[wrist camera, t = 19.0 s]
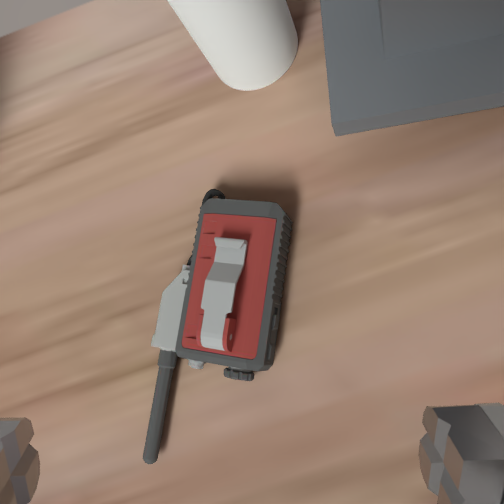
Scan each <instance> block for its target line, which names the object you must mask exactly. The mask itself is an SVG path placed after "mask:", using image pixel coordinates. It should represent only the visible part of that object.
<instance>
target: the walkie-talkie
mask: <svg viewBox="0 0 504 504" xmlns="http://www.w3.org/2000/svg"><path fill="white" fill-rule="evenodd" d="M213 196H218V197H219V199H214V198H213ZM200 209H201V210H200V214H199V221H198V222H197V223H198V227H197V228H196V231H197V233H196V236H195V243H194V250H193V251H192V253H193V254H192V256H191V257H190V258H189V260H188V263H187V265H183V267H182V272H181V273H180V274H179V275H178V276H177V277H176V278H175V279H174V280H173V282H172V283H171V284H170V285H169V286H168V287H167V288H166V289H165V290H164V291H163V293H162V299H161V304H160V310H159V315H158V320H157V326H156V331H155V334H154V335H153V337H152V342H151V346H154V347H160V354H159V360H158V366H159V371H158V376H157V382H156V387H155V393H154V398H153V404H152V409H151V415H150V420H149V426H148V431H147V437H146V442H145V448H144V453H143V459H144V461H145V463H147V464H153V463H154V462H156V460H157V459H158V453H159V447H160V442H161V436H162V430H163V425H164V419H165V413H166V408H167V402H168V396H169V390H170V385H171V379H172V373H173V368H175V367H176V361H177V356H178V357H181V358H185V359H188V360H189V363H188V365H189V366H191V367H192V368H196V369H203V365H204V363H206V362H207V363H213V364H218V365H224V366H229V368H226V369H224V376H225V377H228V378H231V379H237V380H245V381H252V380H253V379H254V373H253V372H251V370H252V371H266V370H268V369H269V368H270V367H271V366H272V365H273V359H274V353H275V345H276V338H277V331H278V324H279V317H280V310H281V302H280V300H281V298H282V295H281V293H282V290H283V287H282V286H283V283H284V281H285V280H283V279H284V275H285V274H286V273H285V268H286V267H287V265H286V260H288V258H287V253H289V250H288V246H289V245H290V243H289V238H291V235H290V231H292V228H291V224H292V223H293V222H292V221H291V220H290V218H289V217H288V216H287V214H286V213H285V212H284V211H283V209H282V208H281V207H280V206H279V205H278V203H273V202H263V201H247V200H231V199H225V196H224V194H223V193H222V192H221V191H219V190H216V189H211V190H209V191H208V192H207V193H206V195H205V197H204V199H203V202H202V206H201V207H200Z"/></svg>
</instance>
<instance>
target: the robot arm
mask: <svg viewBox="0 0 504 504" xmlns="http://www.w3.org/2000/svg"><path fill="white" fill-rule="evenodd" d="M422 423H423V425H424V427H425V429H426V431H427V433H426V434H425V435H424V436H423V438H422V439H421V440H420V445H419V461H420V468H421V472H422V475H423V479H424V481H425V483H426V485H427V488H428V489H429V490H430V491H432V492H433V493H434V494H436V495H437V496H438V501H437V504H504V405H502V404H500V403H484V404H474V405H453V406H427V407H426V409H425V411H424V414H423V421H422ZM33 435H34V431H33V427H32V423H31V420H29V419H27V418H0V504H28V503H29V502H30V501H31V499H32V497H33V495H34V493H35V491H36V488H37V484H38V479H39V475H40V460H39V455H38V451H37V450H35V449H34V448H33V447H32V446H31V445H30V444H29V442H30V441H31V439H32V437H33Z"/></svg>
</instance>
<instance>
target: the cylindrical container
mask: <svg viewBox="0 0 504 504" xmlns="http://www.w3.org/2000/svg"><path fill="white" fill-rule="evenodd" d="M167 1H168V2H169V4H170V5H171V7H172V8H173V10H174V11H175V13H176V14H177V16H178V17H179V19H180V20H181V22H182V23H183V24H184V26H185V27H186V29H187V30H188V32H189V33H190V35H191V36H192V38H193V39H194V41H195V42H196V44H197V45H198V47H199V48H200V50H201V51H202V53H203V54H204V56H205V57H206V59H207V60H208V62H209V63H210V64H211V66H212V67H213V69H214V70H215V72H216V73H217V75H218V76H219V78H220V79H221V80H222V81H223V82H224V83H225V84H227V85H228V86H230V87H232V88H235V89H238V90H245V91H248V90H256V89H260V88H264V87H266V86H268V85H270V84H272V83H274V82H275V81H276V80H278V79H279V78H280V77H281V76H282V75H283V74H284V73H285V72H286V71H287V70H288V69H289V67H290V66H291V64H292V63H293V60H294V58H295V56H296V52H297V48H298V37H297V32H296V29H295V26H294V23H293V20H292V17H291V14H290V11H289V8H288V5H287V2H286V0H167Z"/></svg>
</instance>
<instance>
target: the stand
mask: <svg viewBox="0 0 504 504" xmlns="http://www.w3.org/2000/svg"><path fill="white" fill-rule="evenodd" d="M320 4H321V15H322V25H323V36H324V47H325V57H326V68H327V78H328V89H329V100H330V110H331V121H332V126H333V129H334V133H335V136H341V135H346V134H352V133H357V132H363V131H369V130H374V129H380V128H385V127H391V126H396V125H402V124H408V123H413V122H419V121H424V120H430V119H435V118H441V117H447V116H452V115H458V114H463V113H469V112H474V111H480V110H486V109H491V108H497V107H502V106H504V0H320Z"/></svg>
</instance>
